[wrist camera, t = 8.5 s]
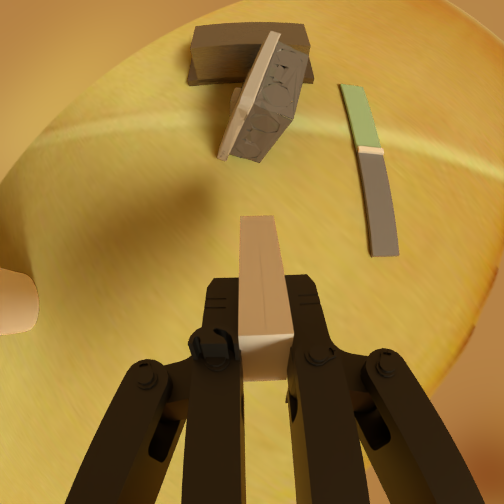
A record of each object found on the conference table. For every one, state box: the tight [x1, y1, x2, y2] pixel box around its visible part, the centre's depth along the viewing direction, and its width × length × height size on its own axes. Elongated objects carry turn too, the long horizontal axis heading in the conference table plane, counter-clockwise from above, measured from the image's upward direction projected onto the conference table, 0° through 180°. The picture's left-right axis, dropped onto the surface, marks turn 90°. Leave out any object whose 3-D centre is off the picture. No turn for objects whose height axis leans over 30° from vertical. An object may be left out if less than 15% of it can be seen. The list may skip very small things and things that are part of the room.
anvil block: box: [188, 22, 314, 86], centre depth 20 cm, size 12×5×5 cm, turn 91°
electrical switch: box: [217, 31, 309, 163], centre depth 18 cm, size 8×5×8 cm, turn 165°
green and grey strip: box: [340, 84, 399, 257], centre depth 21 cm, size 2×17×1 cm, turn 1°
